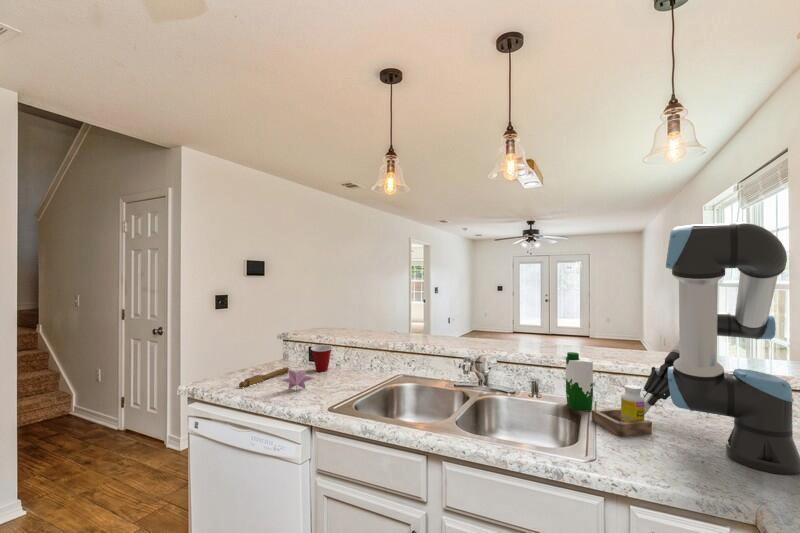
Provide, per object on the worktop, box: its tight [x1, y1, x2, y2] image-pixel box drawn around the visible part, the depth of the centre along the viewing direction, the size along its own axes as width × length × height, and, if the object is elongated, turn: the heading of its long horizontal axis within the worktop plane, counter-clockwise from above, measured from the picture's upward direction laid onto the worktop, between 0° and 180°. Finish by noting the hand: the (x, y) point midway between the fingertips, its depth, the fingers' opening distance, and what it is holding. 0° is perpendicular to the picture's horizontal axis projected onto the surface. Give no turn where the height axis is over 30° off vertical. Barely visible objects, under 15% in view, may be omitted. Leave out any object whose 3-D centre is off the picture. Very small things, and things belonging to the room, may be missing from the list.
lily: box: [281, 369, 315, 392], centre depth 168 cm, size 12×12×10 cm
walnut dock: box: [591, 407, 653, 437], centre depth 130 cm, size 12×13×4 cm
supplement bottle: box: [620, 384, 645, 423], centre depth 131 cm, size 7×7×13 cm
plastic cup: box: [310, 344, 333, 373], centre depth 202 cm, size 11×11×12 cm
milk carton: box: [565, 351, 594, 411], centre depth 148 cm, size 9×9×20 cm
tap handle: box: [239, 366, 289, 388], centre depth 185 cm, size 3×3×30 cm
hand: (641, 410), depth 133 cm, fingers closed
